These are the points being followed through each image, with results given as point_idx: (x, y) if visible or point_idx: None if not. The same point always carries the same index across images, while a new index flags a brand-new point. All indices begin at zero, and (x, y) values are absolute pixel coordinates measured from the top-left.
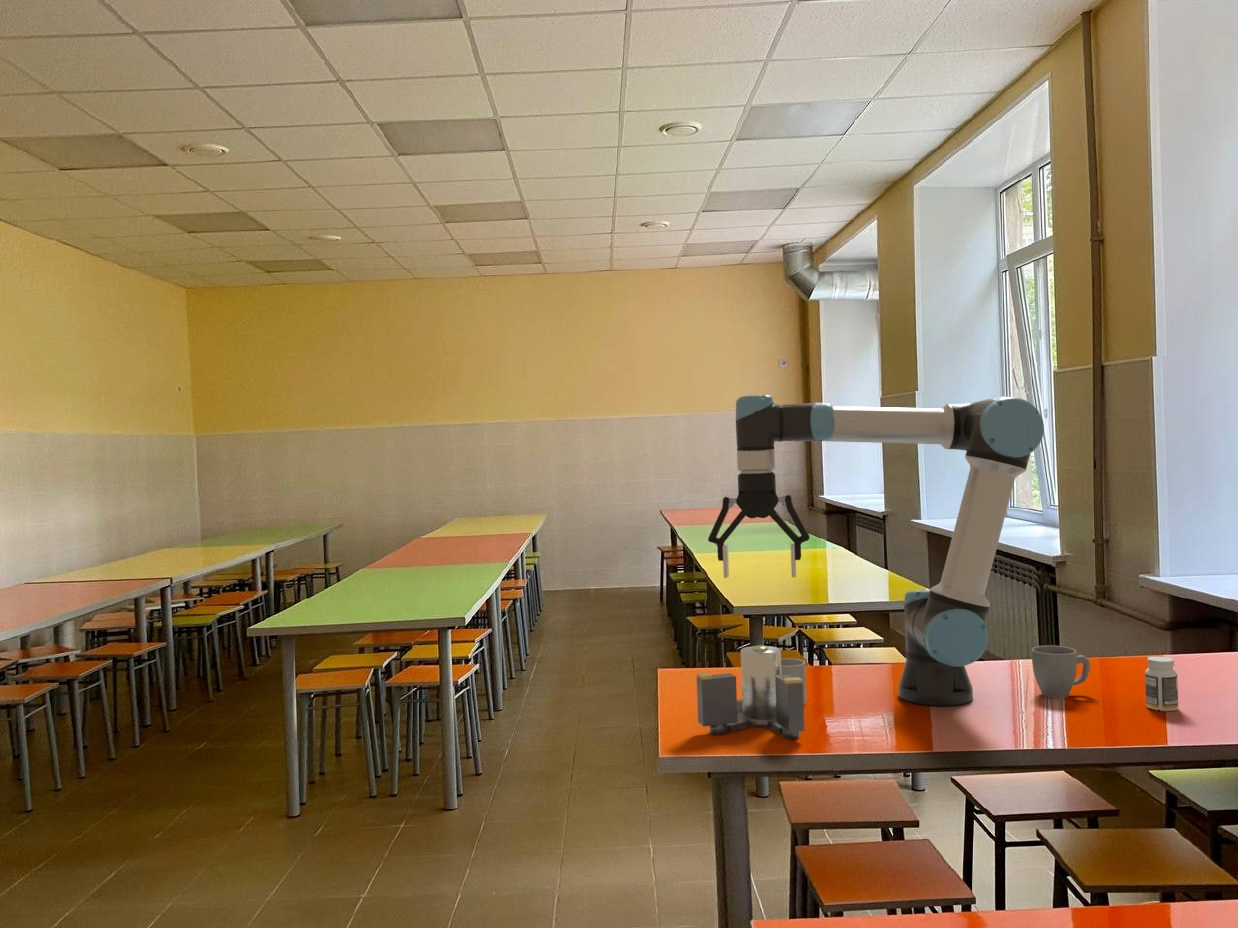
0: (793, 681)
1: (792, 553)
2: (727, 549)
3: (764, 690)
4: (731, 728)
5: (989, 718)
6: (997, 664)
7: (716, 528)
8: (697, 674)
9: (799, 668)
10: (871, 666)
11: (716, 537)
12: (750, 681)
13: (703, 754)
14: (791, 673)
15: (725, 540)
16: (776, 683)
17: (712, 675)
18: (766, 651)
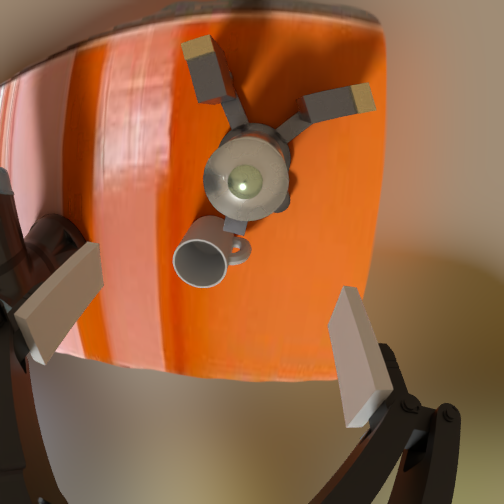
0: (198, 38)
1: (42, 292)
2: (352, 396)
3: (248, 133)
4: None
5: (23, 172)
6: None
7: (441, 470)
8: (375, 107)
9: (182, 241)
10: (128, 361)
11: (418, 437)
12: (271, 141)
13: (343, 23)
14: (197, 234)
15: (363, 438)
16: (227, 90)
17: (346, 110)
18: (233, 166)
